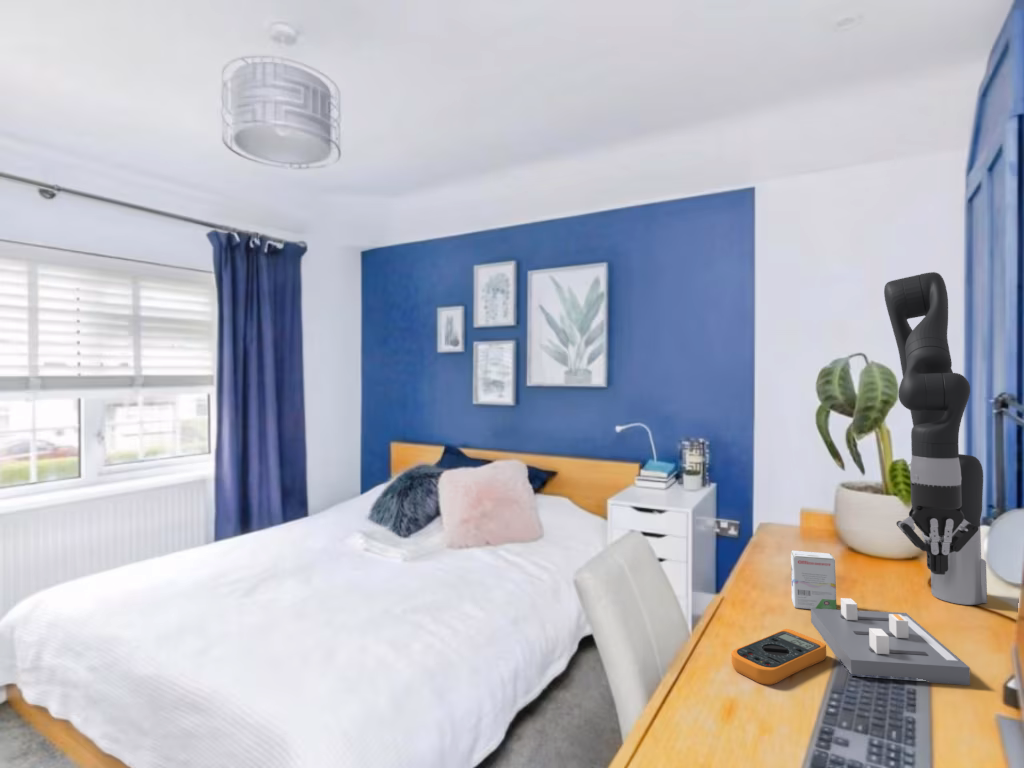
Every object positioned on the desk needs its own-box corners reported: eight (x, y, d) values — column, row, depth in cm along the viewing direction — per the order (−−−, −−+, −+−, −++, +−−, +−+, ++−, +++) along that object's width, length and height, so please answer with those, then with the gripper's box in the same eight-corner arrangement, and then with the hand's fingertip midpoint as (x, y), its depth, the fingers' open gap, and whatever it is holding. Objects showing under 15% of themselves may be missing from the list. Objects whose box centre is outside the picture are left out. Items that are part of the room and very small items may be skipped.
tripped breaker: (900, 631, 107) (900, 613, 107) (908, 638, 104) (908, 620, 104) (889, 630, 107) (888, 613, 107) (896, 637, 104) (896, 620, 104)
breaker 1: (851, 614, 115) (851, 598, 115) (857, 620, 112) (857, 604, 112) (841, 613, 115) (840, 598, 115) (846, 619, 112) (846, 603, 112)
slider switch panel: (906, 627, 115) (906, 612, 115) (970, 685, 93) (969, 666, 93) (811, 622, 119) (810, 607, 119) (851, 677, 97) (850, 659, 97)
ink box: (794, 608, 126) (792, 556, 126) (791, 599, 131) (789, 549, 131) (837, 612, 123) (835, 559, 123) (832, 603, 128) (831, 552, 128)
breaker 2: (881, 646, 101) (881, 628, 101) (889, 654, 98) (888, 636, 98) (869, 645, 102) (869, 628, 102) (876, 653, 99) (876, 635, 99)
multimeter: (725, 669, 102) (725, 650, 102) (786, 643, 111) (786, 626, 111) (768, 691, 94) (767, 671, 94) (829, 661, 103) (829, 642, 103)
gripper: (964, 477, 106) (966, 568, 106) (886, 476, 109) (888, 565, 109) (989, 484, 99) (991, 582, 99) (904, 483, 102) (907, 578, 102)
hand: (937, 573), depth 104 cm, fingers closed
